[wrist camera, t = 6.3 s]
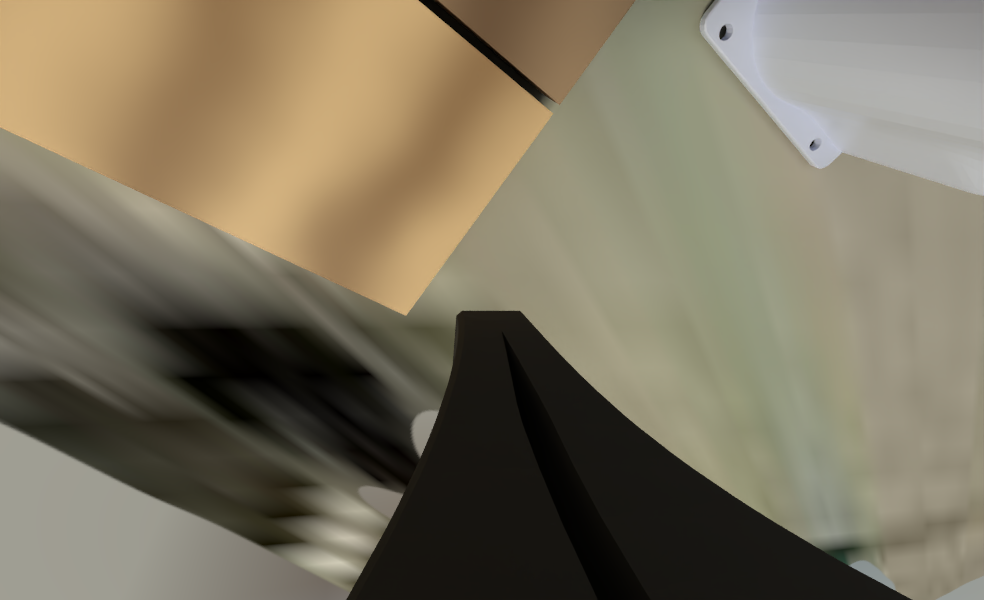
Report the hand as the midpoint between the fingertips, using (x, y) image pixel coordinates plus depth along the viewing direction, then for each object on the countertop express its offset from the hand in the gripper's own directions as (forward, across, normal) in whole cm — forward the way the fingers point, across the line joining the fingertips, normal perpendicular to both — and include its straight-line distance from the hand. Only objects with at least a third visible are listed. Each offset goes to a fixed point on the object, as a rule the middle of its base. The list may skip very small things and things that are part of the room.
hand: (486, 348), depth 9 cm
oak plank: (+10, +7, -4) cm, 13 cm away
